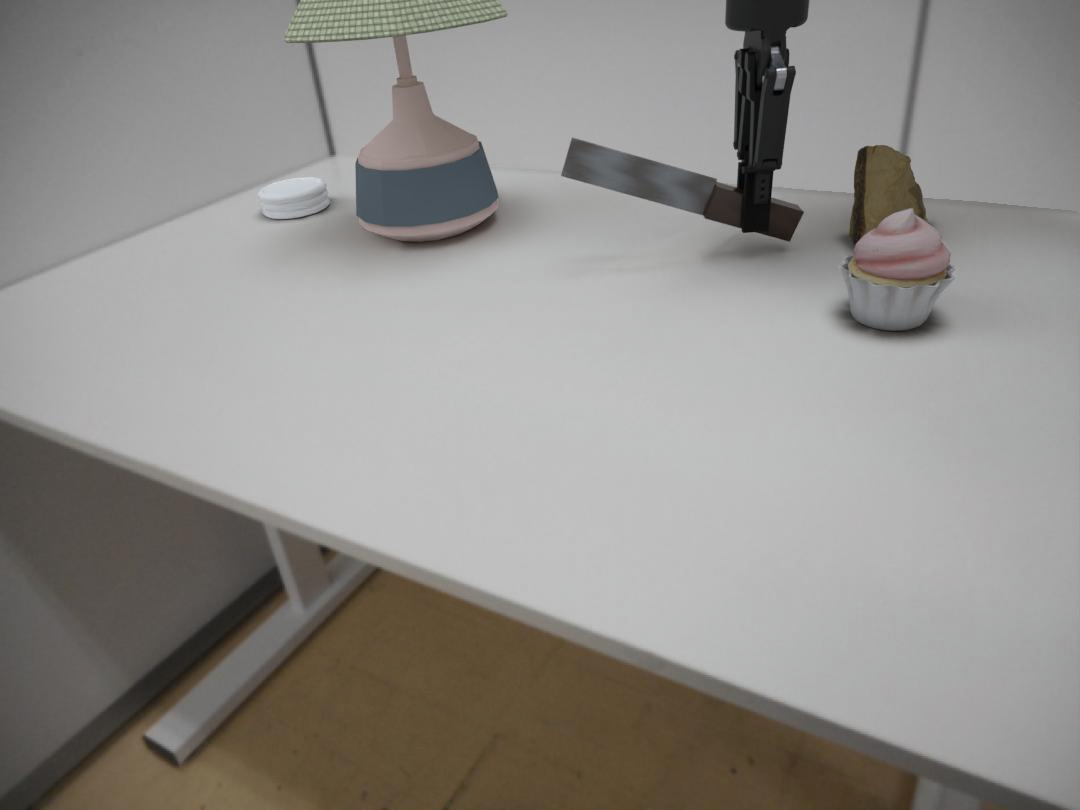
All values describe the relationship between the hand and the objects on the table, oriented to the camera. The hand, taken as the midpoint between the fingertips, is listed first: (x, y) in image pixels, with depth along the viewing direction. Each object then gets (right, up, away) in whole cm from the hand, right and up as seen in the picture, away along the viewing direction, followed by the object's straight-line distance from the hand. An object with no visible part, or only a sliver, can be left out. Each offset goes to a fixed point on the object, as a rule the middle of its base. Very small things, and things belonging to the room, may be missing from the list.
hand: (751, 225), depth 81 cm
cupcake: (+9, -12, -14) cm, 20 cm away
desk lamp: (-38, +5, +19) cm, 43 cm away
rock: (+16, -1, +2) cm, 16 cm away
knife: (-8, +2, -1) cm, 9 cm away
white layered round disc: (-60, +10, +31) cm, 68 cm away
